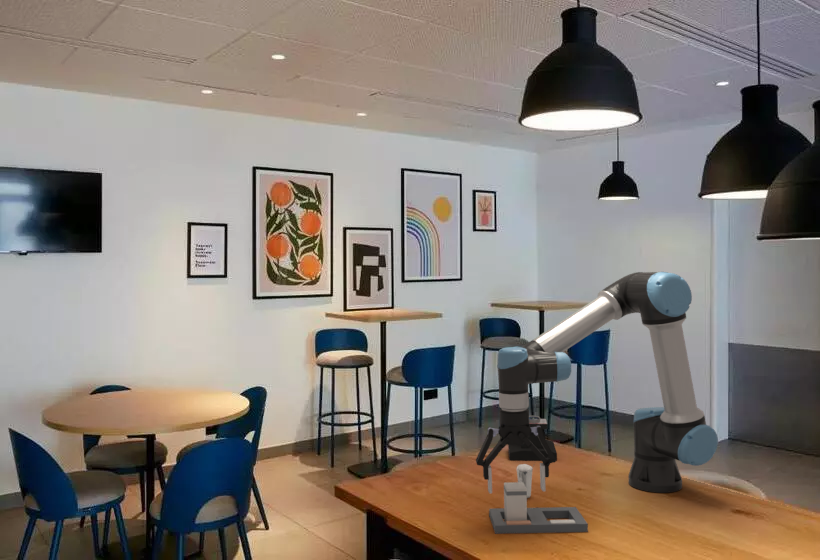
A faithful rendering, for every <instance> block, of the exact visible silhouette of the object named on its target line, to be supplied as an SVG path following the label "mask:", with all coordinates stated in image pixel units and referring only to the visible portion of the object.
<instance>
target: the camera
mask: <svg viewBox="0 0 820 560" xmlns="http://www.w3.org/2000/svg"><path fill="white" fill-rule="evenodd" d="M529 425H530V428H531V427H536V426H537V425H539V426H540V427H541V428H542V432H543V437H544V438H545V440H546V442H547V444H548V446H549V448H550V449H551V451H552V453H553V455H554V457H555V459H556V462H557V461H558V452H557V450H556V446H555V442H554V440H550V439H546V433H545V430H548V421H547V419H546V418H541V417H540V416H538V415H529ZM528 439H529V440H530V441H531V442H532V443H533V444H534V446H535V447H536V448H537V449H538V450H539V451H540V452H541V453H542V454H543V455H544V457H545V458H548V455H547V453H546V451H545V449H544V447H543V446H542V444H541V442H540V440H539V438H538V436H536V435H535V434H534V433H533V432H531V434H530V436H529V437H528ZM507 445H508V444H507ZM507 449H508V459H509V461H511V462H512V461H513V462H514V461H515V462H516V461H517V462H518V461H519V462H521V461H522V462H542V461H541V460H540V459H539V458H538V456H537V455H536V454H535V453H534V452H533V451H532V450H531V449H530V448H529V447H528V446H527V444H526V443H524V444H522V445H513V446H510V445H508V448H507Z"/></svg>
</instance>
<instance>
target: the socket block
mask: <svg viewBox="0 0 820 560" xmlns="http://www.w3.org/2000/svg"><path fill="white" fill-rule="evenodd" d="M488 509H489V510H488V515H489V519H490V522H491V525H492V528H493V532H494V534H497V535H498V534H538V533H540V534H541V533H542V534H544V533H548V534H549V533H551V534H553V533H554V534H555V533H586V532H587V533H588V532H589V528H588V527H589V525H588V524H589V523H588V522H587V521H586V519H585V518H584V517H583V515H582V513H581V512H580V511H579V509H578V508H577V507H576V506H558V507H557V506H556V507H555V506H553V507H552V506H551V507H549V506H548V507H527V520H523V521H506V522H505V521H504V507H502V508H500V507H497V508H488ZM548 519H550V520H548Z"/></svg>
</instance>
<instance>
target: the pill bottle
mask: <svg viewBox="0 0 820 560" xmlns="http://www.w3.org/2000/svg"><path fill="white" fill-rule="evenodd" d="M534 467H535V465H533V466H531V465H530V464H526V463H523V464H522V463H521V464H518V465H517V466H516V476H517V482H523V483H524V485H525V487H526V488H527V499H528V498H531V495H532V482H533V481H532V480H533V469H534Z"/></svg>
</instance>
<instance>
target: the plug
mask: <svg viewBox="0 0 820 560" xmlns="http://www.w3.org/2000/svg"><path fill="white" fill-rule="evenodd" d="M527 501H528V498H527V488H526V487H525V485H524V483H523V482H518V481H515V482H513V481H512V482H510V481H509V482H503V508H504V519H503V521H504V522H506V521H523V520H527V508H528V507H527V506H528V504H527V503H528V502H527Z"/></svg>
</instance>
